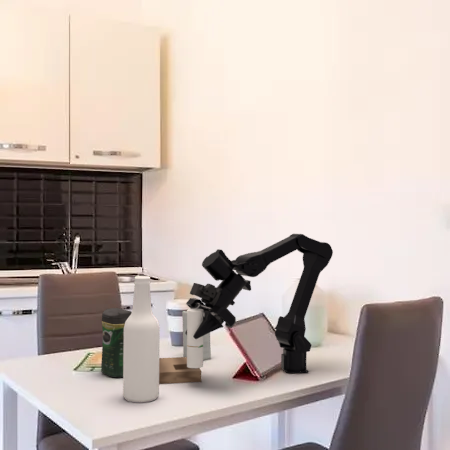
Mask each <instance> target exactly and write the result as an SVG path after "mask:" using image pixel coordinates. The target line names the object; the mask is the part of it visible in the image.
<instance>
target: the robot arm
mask: <svg viewBox="0 0 450 450" xmlns="http://www.w3.org/2000/svg"><path fill="white" fill-rule="evenodd" d="M295 251H298V252H299V253H301V254H302V263H303V270H302V273H301V276H300V278H299V281H298V285H297V287H296V290H295V293H294V295H293V298H292V301H291V304H290V307H289V310H288V311H287V313H286V315H284V316H279V317H278V319H277V322H276V325H275V326H274V330H275V332H274V335H275V338H276V341H278V344H279V347H280V348H282V353H281V356H280V359H281V360H280V362H281V363H280V369H282V370H283V371H284V372H285V373H287V374H300V373H309V369H307V354H308V353H309V352H310V351H311V348H312V343H311V342H310V341H309V340H308V339H307V338H306V337H305V335H306V328H307V327H306V321H305V317H306V315H307V311H308V309H309V306H310V304H311V303H310V302H311V299H312V298H313V294H314V291H315V288H316V285H317V283H318V279H319V276H320V274H321V272H322V271H323V270H324V269H325V268H326V267H327V266H328V265H329V263H330V261H331V259H332V257H333V255H334V254H333V253H334V251H333V249H332V246H331V244H329V243H328V242H324V241H323V242H322V241H319V240H316V239H314V238H310V237H309V236H306V235H305V234H302V233H292V234H290V235H289V236H288V237H285V238H284V239H282V240H279V241H278V242H275V243H274V244H272V245H270V246H267V247H265V248H264V249H262V250H258V251H254V252H248V253H244V254H241V255H239V256H237V257H236V258H235V259H232V260H231V259H230V258H229V257H228V256H227V255H226V253H225V251H223V249H220V248H219V249H216V250H215V251H214V252H211V253H210V254H209V255H207V256H206V257H205V258H204V259H203V261H202V263H201V266H202V268H203V269H204V270H205V271H206V272H207V273H208V274H209V275H210V276H211V278H213V279H214V280H215V281H216V282H217V281H221V282H220V283H219V285H217V286H215V285H214V284H211V283H206V284H201V283H197V282H193V284H192V286H191V289H190V292H189V294H190V295H192V296H194V297H191V298H189V299H188V300H187V301H186V303H185V305H186V306H187V307H188V308H189V309H203V322H202V323H201V325H200V326H199V328H198V329H197V331H196V332H195V334H194V336H193V337H194V338H195V339H198V338H200V337H202V336H204V335H206V334H208V333H210V334H211V333H213V332H214V331H216V330H218V329H221V328H224V325H225V327H227V328H230V329H232V328H233V326H235V324H236V322H237V321H236V320H237V318H236V316H235V315H234V314H233V313H232V312H231V311H230V310H229V309H228V308H229V307H230V306H234V305H235V304H236V302H235V301H234V300H235V299H236V297H237V296H239V294H240V293H241V291H242V290H245V291H249V292H251V291H252V286H251V280H248V279H245V278H244V277H249V278H255V277H258V276H259V275H261V274H262V273H263V272H265V270H267V267H268V266H270V265H271V264H272V263H274V262H275V261H277V260H279V259H281V258H284V257H285V256H288V255H289V254H291V253H293V252H295ZM195 296H196V297H198V298H195ZM199 298H200V299H199ZM223 324H224V325H223ZM185 334H186V335H187V330H186V332H185ZM307 352H308V353H307Z"/></svg>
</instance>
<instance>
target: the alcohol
mask: <svg viewBox="0 0 450 450" xmlns="http://www.w3.org/2000/svg"><path fill="white" fill-rule="evenodd" d="M133 279H134V282H133V284H134V287H133V288H134V289H133V297H132V298H133V299H132V300H133V301H132V309H131V312H132V313H131V315H130V316H129V317H128V319H127V320H126V322H125V325H124V354H123V377H122V378H123V379H122V381H123V382H122V384H123V385H122V395H123V398H124V399H125V400H126V401H128V402H131V403H136V404H138V403H142V404H143V403H149V402H152V401H155V400H157V399H158V396H159V395H160V384H159V358H160V331H161V330H160V329H161V327H160V324H159V323H160V322H159V320H158V318H157V317H156V316H155V315H154V313H153V311H152V310H153V309H152V297H151V286H150V285H151V277H150V276H148V275H136V276H135V277H133Z"/></svg>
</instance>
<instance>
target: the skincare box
mask: <svg viewBox="0 0 450 450" xmlns="http://www.w3.org/2000/svg"><path fill="white" fill-rule="evenodd" d="M181 315H182V346H183V350H182V352H183V353H182V354H183V357H187V335H186V334H185V332H186V330H187V310H184V311H182V313H181ZM211 352H212V351H211V332H210V333H208V334H206V335H204V336H203V361H205V360H211V358H212V354H211Z"/></svg>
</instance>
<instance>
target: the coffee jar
mask: <svg viewBox="0 0 450 450" xmlns="http://www.w3.org/2000/svg"><path fill="white" fill-rule="evenodd" d="M131 313H132V310H128V309H123V308H119V307H111V308H106V309H104V311H103V312H102V315H101V327H102V343H101V344H102V347H101V365H100V366H101V367H100V369H101V370H100V371H101V373H102V374H104V375H106V376H109V377H113V378H117V377H121V378H123V354H124V325H125V322H126V320H127V319H128V317H129V316H130V315H131Z"/></svg>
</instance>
